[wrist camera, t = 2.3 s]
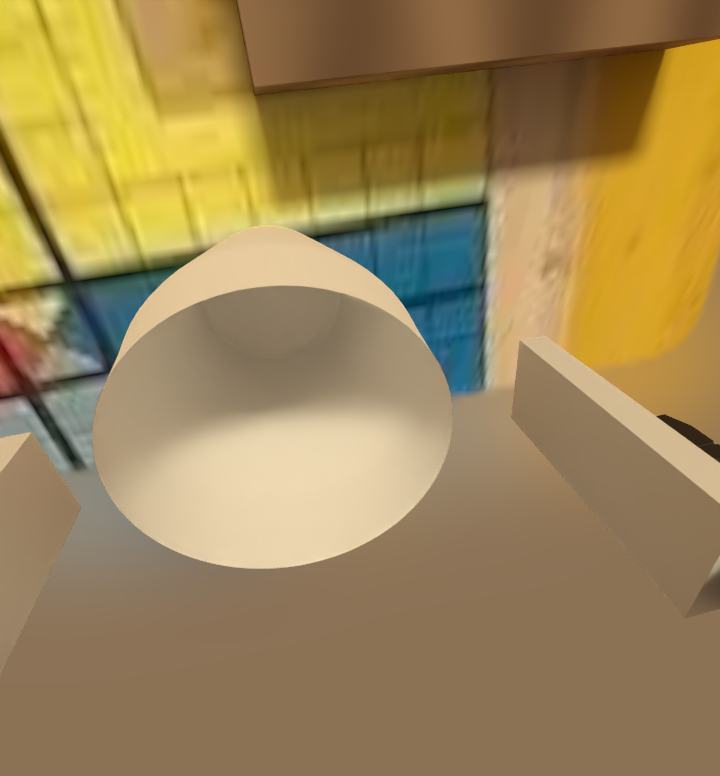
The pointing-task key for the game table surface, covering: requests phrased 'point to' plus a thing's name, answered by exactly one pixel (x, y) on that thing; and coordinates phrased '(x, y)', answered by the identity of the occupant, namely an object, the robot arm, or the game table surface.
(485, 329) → the game table surface
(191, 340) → the cup
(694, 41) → the walnut base
